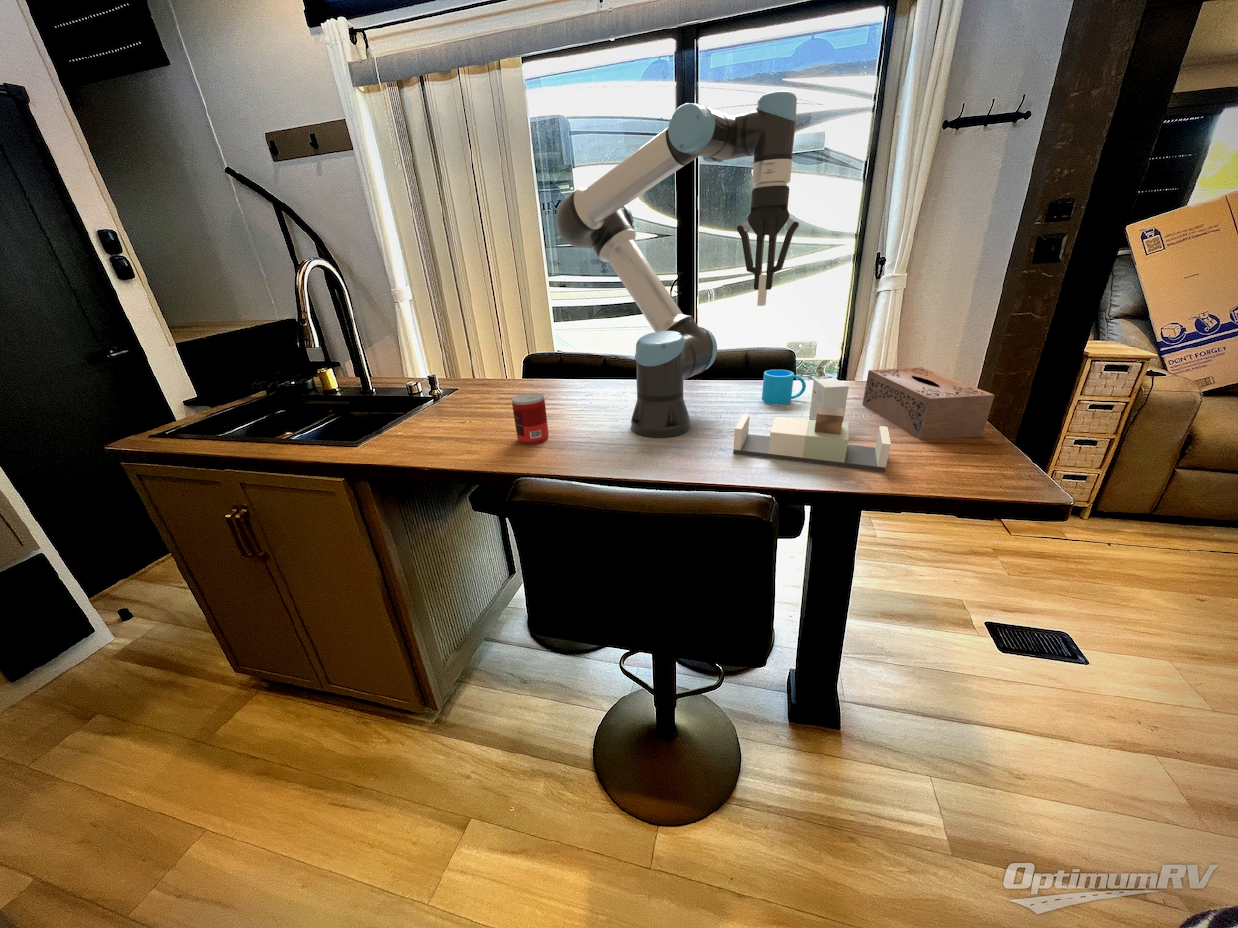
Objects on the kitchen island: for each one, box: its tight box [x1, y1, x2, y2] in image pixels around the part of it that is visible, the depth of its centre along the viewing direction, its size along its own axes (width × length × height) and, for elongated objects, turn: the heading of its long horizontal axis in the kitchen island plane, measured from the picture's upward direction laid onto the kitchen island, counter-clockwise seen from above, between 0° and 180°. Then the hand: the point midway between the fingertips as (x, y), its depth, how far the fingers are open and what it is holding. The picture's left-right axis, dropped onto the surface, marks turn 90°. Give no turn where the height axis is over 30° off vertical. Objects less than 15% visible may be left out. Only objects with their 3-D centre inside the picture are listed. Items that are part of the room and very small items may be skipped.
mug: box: [761, 369, 807, 406], centre depth 135 cm, size 12×8×8 cm
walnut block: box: [814, 407, 845, 435], centre depth 98 cm, size 5×5×4 cm
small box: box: [808, 377, 850, 423], centre depth 117 cm, size 8×6×10 cm
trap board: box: [733, 413, 892, 473], centre depth 102 cm, size 30×10×6 cm, turn 66°
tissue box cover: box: [862, 366, 996, 441], centre depth 117 cm, size 26×14×10 cm, turn 2°
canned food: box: [511, 392, 549, 446], centre depth 116 cm, size 8×8×11 cm
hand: (761, 305), depth 107 cm, fingers closed
